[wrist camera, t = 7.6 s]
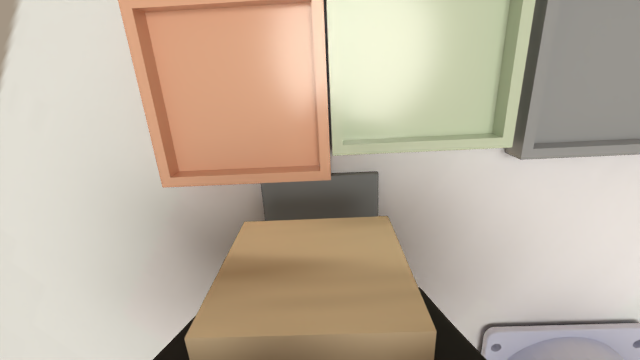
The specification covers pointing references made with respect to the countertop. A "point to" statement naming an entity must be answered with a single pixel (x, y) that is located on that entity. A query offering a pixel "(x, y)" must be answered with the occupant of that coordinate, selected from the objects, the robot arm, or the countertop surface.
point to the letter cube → (314, 296)
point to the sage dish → (425, 73)
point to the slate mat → (322, 198)
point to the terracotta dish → (232, 88)
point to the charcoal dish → (580, 81)
